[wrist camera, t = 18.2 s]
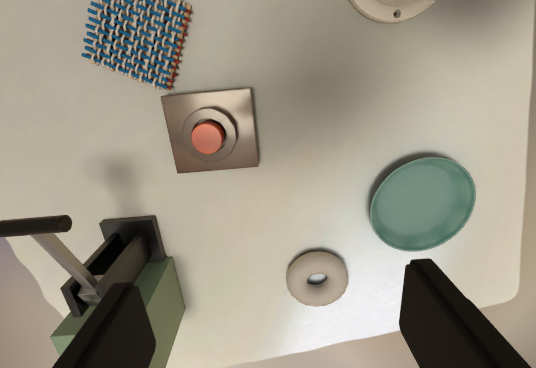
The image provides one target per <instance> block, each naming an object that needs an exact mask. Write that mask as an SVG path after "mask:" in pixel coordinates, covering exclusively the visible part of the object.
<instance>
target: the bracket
mask: <svg viewBox="0 0 536 368" xmlns="http://www.w3.org/2000/svg"><path fill="white" fill-rule="evenodd" d="M99 225H100V228H101V231H102V233H103V236H104V239H105V242H104V243H103V244H102V245H101V246H100V247H99V248H98V249H97V250H96V251H95V252H94V253H93V254H92V255H91V257H90V258H89V259H88V260H87V261H86V262H85V263H84V264H83V266H84V267H85V268H86V269H87V270H88V271H89V272H90V273H91V274H92V275H93V276H96V275H104V276H103V277H102V278H101V279H100V281H99V282H98V283H97V284H96V288H97V291H98V293H99V296H100V298H101V299H102V298H103V296H104V295H105V294H106V292H107V291H108V289H109V288H110V287H111V286H112V284H114V283H121V282H132V283H135V281H136V280H137V278H138V276H139V275H140V273H141V272H142V270H143V268H144V267H145V265H146V264H147V263H153V262H164V260H165V258H166V256H165V252H164V248H163V244H162V240H161V237H160V233H159V229H158V225H157V222H156V218H155V216H144V217H132V218H120V219H108V220H103V221H101V222H100V223H99ZM81 287H82V285H81V284H80V283H79V282H78V281H77V280H75V279H74V278H73V277H71V278H70V279H69V280H68V281H67V282H66V283H65V284H64V285H63V286H62V287H61V288H60V289H61V291H62V293H63V295H64V298H65V300H66V302H67V304H68V306H69V309H70V311H71V313H72V315H73V317H82V316H83V314H84V313H85V312H86V310H87V309H88V308H89V305H88V304H87V303H86V302H85V301H83V300H82V299H81V298H80V297H79V296H78V293H79V291H80V289H81Z"/></svg>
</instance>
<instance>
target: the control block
mask: <svg viewBox="0 0 536 368" xmlns="http://www.w3.org/2000/svg"><path fill="white" fill-rule="evenodd" d="M161 100H162V105H163V110H164V114H165V119H166V123H167V128H168V133H169V137H170V142H171V146H172V151H173V155H174V160H175V165H176V169H177V173H189V172H201V171H212V170H224V169H236V168H247V167H258V166H259V158H258V148H257V139H256V129H255V119H254V110H253V100H252V90H251V87H249V88H238V89H227V90H216V91H205V92H195V93H184V94H173V95H165V96H161ZM204 121H213V122H215V123H217V124H218V125H220V126H221V128H222V129H223V132H224V141H223V144H222V145H221V147H220V148H219V150H218V151H216V152H215V153H212V154H204V153H201V152H199V151H198V150H196V148H195V147H194V146H193V144H192V141H191V134H192V132H193V130H194V128H195V127H196V126H198V125H199V124H200V123H202V122H204Z"/></svg>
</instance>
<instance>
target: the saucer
mask: <svg viewBox="0 0 536 368" xmlns="http://www.w3.org/2000/svg"><path fill="white" fill-rule="evenodd" d="M475 199H476V190H475V185H474V182H473V179H472V177H471V175H470V174H469V173H468V171H467V170H466V169H465V168H464V167H462V166H461V165H460V164H458V163H456V162H455V161H452V160H450V159H446V158H441V157H426V158H421V159H417V160H414V161H411V162H408V163H406V164H404V165H402V166H400V167H399V168H397V169H396V170H394V171H393V172H392V173H391V174H389V175H388V176H387V177H386V178H385V179H384V181H383V182H382V183H381V184H380V186H379V187H378V189H377V191H376V193H375V195H374V197H373V200H372V203H371V208H370V219H371V224H372V227H373V229H374V231H375V233H376V234H377V236H378V237H379V238H380V239H381V240H382V241H383V242H384V243H386V244H387V245H389V246H391V247H393V248H395V249H399V250H403V251H423V250H428V249H431V248H434V247H437V246H439V245H441V244H443V243H445V242H446V241H448V240H449V239H451V238H452V237H454V236H455V235H456V234H457V233H458V232H459V231H460V230H461V229H462V228H463V227H464V225H465V224H466V222H467V221H468V219H469V217H470V216H471V213H472V211H473V209H474V205H475Z"/></svg>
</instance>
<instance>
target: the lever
mask: <svg viewBox="0 0 536 368" xmlns="http://www.w3.org/2000/svg"><path fill="white" fill-rule="evenodd" d="M71 226H72V220H71V218H70V217H69V216H68V215H59V216H47V217H35V218H24V219H12V220H2V221H0V237H11V236H23V235H31V236H32V237H33V238H34V239H35V240H36V241H37V242H38V243H39V244H40V245H41V246H42V247H43V248H44V249H45V250H46V251H47V252H48V253H49V254H50V255H51V256H52V257H53V258H54V259H55V260H56V261H57V262H58V263H59V264H60V265H61V266H62V267H63V268H64V269H65V270H66V271H67V272H68V273H69V274H70V275H71V276H72V277H73V278H74V279H75V280H77V281H78V282H79V283H80V284H81V285H82V287H81V289H80V291H79V293H78V296H79V297H80V298H81V299H82V300H83V301H85V302H86V303H87V304H88V305H89V306H97V305H98V303H99V302H100V301H101V298H100V296H99V293H98V291H97V288H96V284H97V283H98V282H99V281H100V279H101V278H102V277H103V276H104V275H96V276H93V275H92V274H91V273H90V272H89V271H88V270H87V269H86V268H85V267H84V266H83V264H82V263H81V262H80V261H79V260H78V259H77V258H76V257H75V256H74V255H73V254H72V253H71V251H70V250H69V249H68V248H67V247H66V246H65V245H64V244H63V243H62V242H61V241H60V240H59V238H58V237H57V236H56V235H55V234H54V233H60V232H67V231H69V230H70V229H71Z"/></svg>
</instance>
